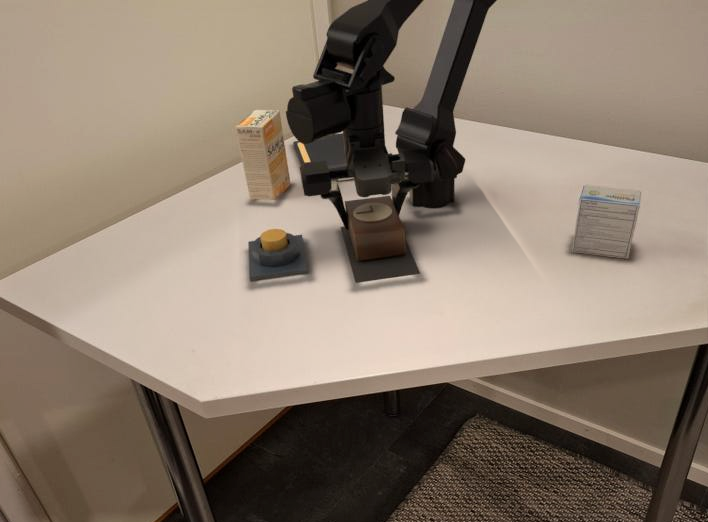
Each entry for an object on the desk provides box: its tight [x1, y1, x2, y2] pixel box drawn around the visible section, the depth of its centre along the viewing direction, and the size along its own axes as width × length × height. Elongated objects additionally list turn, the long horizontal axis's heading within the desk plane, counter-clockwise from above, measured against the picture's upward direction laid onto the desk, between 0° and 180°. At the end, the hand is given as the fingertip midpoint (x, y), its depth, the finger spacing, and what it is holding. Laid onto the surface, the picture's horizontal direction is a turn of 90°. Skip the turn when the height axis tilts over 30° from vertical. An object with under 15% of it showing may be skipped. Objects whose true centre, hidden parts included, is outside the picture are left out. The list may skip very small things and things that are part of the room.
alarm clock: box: [344, 195, 406, 261], centre depth 92 cm, size 7×11×4 cm, turn 11°
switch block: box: [247, 232, 309, 282], centre depth 90 cm, size 10×8×4 cm
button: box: [259, 228, 288, 251], centre depth 89 cm, size 4×4×2 cm
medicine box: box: [571, 184, 642, 260], centre depth 88 cm, size 8×4×9 cm, turn 71°
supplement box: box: [235, 109, 292, 201], centre depth 105 cm, size 8×5×13 cm, turn 168°
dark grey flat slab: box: [340, 225, 421, 284], centre depth 92 cm, size 9×16×1 cm, turn 11°
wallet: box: [292, 132, 346, 169], centre depth 119 cm, size 20×2×15 cm
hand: (370, 225), depth 96 cm, fingers closed on alarm clock, 7 cm apart
